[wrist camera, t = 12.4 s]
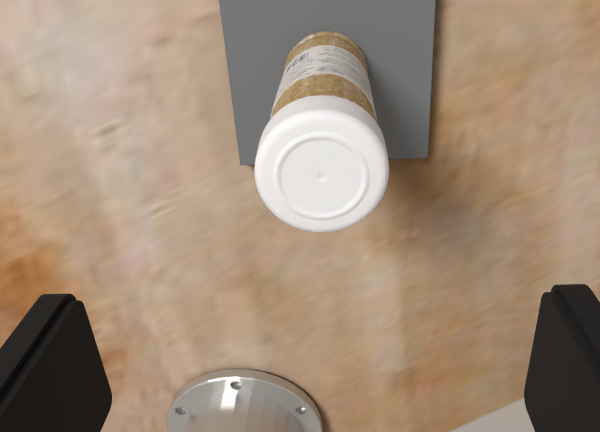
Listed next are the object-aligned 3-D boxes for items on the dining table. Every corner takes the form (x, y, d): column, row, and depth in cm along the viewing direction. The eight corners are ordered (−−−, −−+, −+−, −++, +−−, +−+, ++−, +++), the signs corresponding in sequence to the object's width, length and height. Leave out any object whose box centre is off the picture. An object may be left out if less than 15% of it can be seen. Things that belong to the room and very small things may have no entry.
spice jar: (316, 127, 31) (306, 259, 20) (267, 62, 30) (223, 163, 18) (384, 80, 30) (417, 193, 18) (336, 9, 28) (338, 83, 17)
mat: (425, 151, 33) (427, 157, 32) (242, 158, 34) (240, 165, 33) (434, -54, 28) (438, -52, 27) (218, -39, 28) (214, -37, 28)
